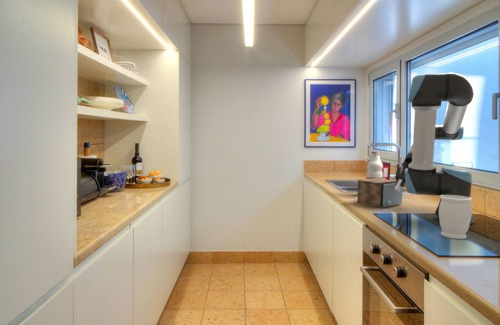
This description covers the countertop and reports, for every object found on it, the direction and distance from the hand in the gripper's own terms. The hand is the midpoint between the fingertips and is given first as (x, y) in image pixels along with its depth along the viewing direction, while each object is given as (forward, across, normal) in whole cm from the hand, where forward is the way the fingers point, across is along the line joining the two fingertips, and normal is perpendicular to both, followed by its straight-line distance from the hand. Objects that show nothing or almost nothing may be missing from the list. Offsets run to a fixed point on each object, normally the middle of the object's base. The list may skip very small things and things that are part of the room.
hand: (396, 190), depth 173 cm
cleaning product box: (-24, +37, -38) cm, 59 cm away
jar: (+27, -38, +13) cm, 49 cm away
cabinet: (+4, +13, -10) cm, 17 cm away
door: (+3, +4, -10) cm, 11 cm away
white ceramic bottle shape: (-10, +28, -24) cm, 38 cm away
